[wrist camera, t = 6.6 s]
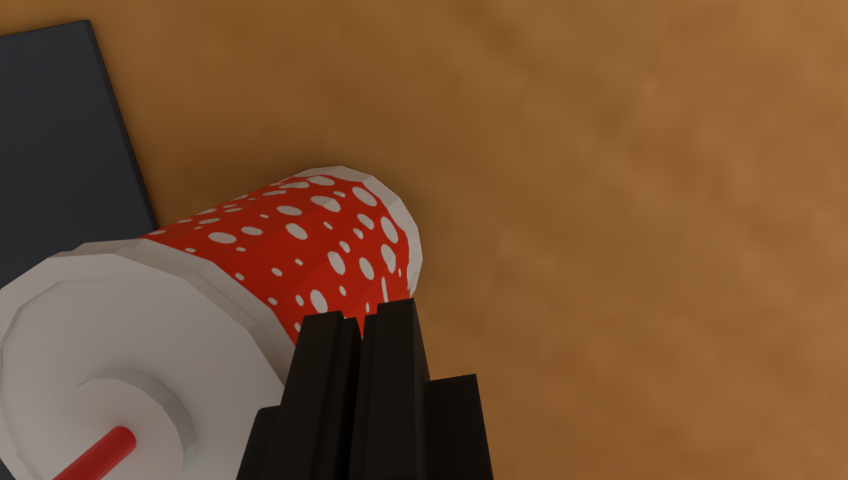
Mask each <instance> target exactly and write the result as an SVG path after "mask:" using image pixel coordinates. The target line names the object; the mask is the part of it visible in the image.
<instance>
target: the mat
mask: <svg viewBox="0 0 848 480" xmlns="http://www.w3.org/2000/svg"><path fill="white" fill-rule="evenodd" d="M156 230H158V226H157V223H156V220H155V217H154V213H153V210H152V207H151V204H150V201H149V198H148V195H147V192H146V189H145V186H144V183H143V180H142V177H141V174H140V171H139V168H138V165H137V162H136V159H135V156H134V153H133V150H132V147H131V144H130V141H129V138H128V135H127V132H126V129H125V126H124V123H123V120H122V117H121V114H120V111H119V108H118V105H117V102H116V99H115V96H114V93H113V90H112V87H111V84H110V81H109V78H108V75H107V72H106V69H105V65H104V62H103V59H102V56H101V53H100V50H99V47H98V44H97V41H96V38H95V35H94V32H93V29H92V26H91V23H90V21H89V20H83V21H78V22H73V23H68V24H63V25H58V26H53V27H48V28H43V29H37V30H32V31H27V32H22V33H17V34H12V35H7V36H2V37H0V290H1V289H2V288H3V287H5V286H6V285H8V284H9V283H11V282H12V281H14V280H15V279H17V278H18V277H20V276H21V275H23V274H24V273H26V272H27V271H29V270H30V269H32V268H33V267H35V266H36V265H38V264H39V263H41V262H42V261H44V260H45V259H47V258H49V257H51V256H53V255H55V254H57V253H59V252H66V251H73V250H74V249H76V248H77V247H79V246H81V245H82V244H84V243H91V242H104V241H117V240H130V239H136V238H139V237H141V236H144V235H146V234H148V233H151V232H153V231H156ZM0 480H16V479H15V478H14V476H13V475H12V473H11V472H10V471H9V469H8V468H7V467H6V465H5V464H4V462H3V461H2V460H1V458H0Z"/></svg>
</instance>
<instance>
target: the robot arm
mask: <svg viewBox="0 0 848 480" xmlns="http://www.w3.org/2000/svg"><path fill="white" fill-rule="evenodd" d="M236 480H494V478H493V472H492V466H491V460H490V454H489V448H488V442H487V436H486V430H485V424H484V418H483V412H482V406H481V401H480V395H479V389H478V383H477V377H476V374H470V375H463V376H457V377H451V378H445V379H439V380H432V381H431V380H430V375H429V370H428V365H427V360H426V355H425V350H424V345H423V340H422V335H421V330H420V325H419V320H418V315H417V310H416V305H415V301H414V298H409V299H403V300H397V301H391V302H385V303H379V304H378V305H377V313H376V314H370V315H365V320H364V329H363V339H362V336H361V332H360V328H359V324H358V321H357V319H356V317H352V318H346V319H345V318H344V315H343V313H342V311H341V310H337V311H331V312H325V313H319V314H313V315H306V316H304V318H303V321H302V325H301V328H300V332H299V336H298V339H297V343H296V347H295V351H294V354H293V358H292V362H291V366H290V369H289V373H288V377H287V381H286V384H285V388H284V392H283V396H282V399H281V403H280V405H276V406H270V407H264V408H261V409H259V410H258V412H257V414H256V416H255V419H254V423H253V426H252V429H251V432H250V435H249V439H248V442H247V445H246V448H245V451H244V455H243V458H242V461H241V464H240V467H239V471H238V474H237V477H236Z"/></svg>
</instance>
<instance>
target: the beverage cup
mask: <svg viewBox="0 0 848 480" xmlns="http://www.w3.org/2000/svg"><path fill="white" fill-rule="evenodd" d="M422 261H423V257H422V251H421V245H420V239H419V233H418V227H417V225H416V224H415V222H414V220H413V219H412V217H411V215H410V214H409V212H408V210H407V209H406V207H405V205H404V204H403V202H402V200H401V199H400V197H399V196H397V195H396V194H395V193H394V192H392V191H391V190H390V189H389V188H387V187H386V186H385V185H384V184H382V183H381V182H380V181H379V180H377V179H376V178H375V177H374V176H372V175H369V174H366V173H362V172H359V171H356V170H353V169H350V168H346V167H343V166H333V167H323V168H314V169H308V170H306V171H303V172H301V173H298V174H296V175H293V176H291V177H288V178H286V179H283V180H281V181H278V182H276V183H273V184H271V185H268V186H266V187H263V188H261V189H258V190H256V191H253V192H251V193H248V194H246V195H243V196H241V197H238V198H236V199H233V200H231V201H228V202H226V203H223V204H221V205H218V206H216V207H213V208H211V209H208V210H206V211H203V212H201V213H198V214H196V215H193V216H191V217H188V218H186V219H183V220H181V221H178V222H176V223H173V224H171V225H168V226H166V227H163V228H161V229H158V230H156V231H153V232H151V233H148V234H146V235H144V236H141V237H139V238H136V239H130V240H117V241H104V242H91V243H84V244H82V245H81V246H79V247H77V248H76V249H74V250H73V251H66V252H59V253H57V254H55V255H53V256H51V257H49V258H47V259H45V260H44V261H42V262H41V263H39V264H38V265H36V266H35V267H33V268H32V269H30V270H29V271H27V272H26V273H24V274H23V275H21V276H20V277H18V278H17V279H15V280H14V281H12V282H11V283H9V284H8V285H6V286H5V287H3V288H2V289H1V290H0V458H1V460H2V461H3V462H4V464H5V465H6V467H7V468H8V469H9V471H10V472H11V473H12V475H13V476H14V478H15V479H16V480H236V477H237V474H238V471H239V467H240V464H241V461H242V458H243V455H244V451H245V448H246V445H247V442H248V439H249V435H250V432H251V429H252V426H253V423H254V419H255V416H256V414H257V412H258V410H259V409H261V408H264V407H270V406H276V405H280V403H281V399H282V396H283V392H284V388H285V384H286V381H287V377H288V373H289V369H290V366H291V362H292V358H293V354H294V351H295V347H296V343H297V339H298V336H299V332H300V328H301V325H302V321H303V318H304V316H306V315H313V314H319V313H325V312H331V311H337V310H341V311H342V313H343V315H344V318H345V319H346V318H352V317H356V319H357V321H358V324H359V328H360V332H361V336H362V339H363V329H364V320H365V315H370V314H376V313H377V305H378V304H379V303H385V302H391V301H397V300H403V299H409V298H411V297H412V295H413V293H414V291H415V290H416V286H417V282H418V277H419V273H420V269H421V265H422Z"/></svg>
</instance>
